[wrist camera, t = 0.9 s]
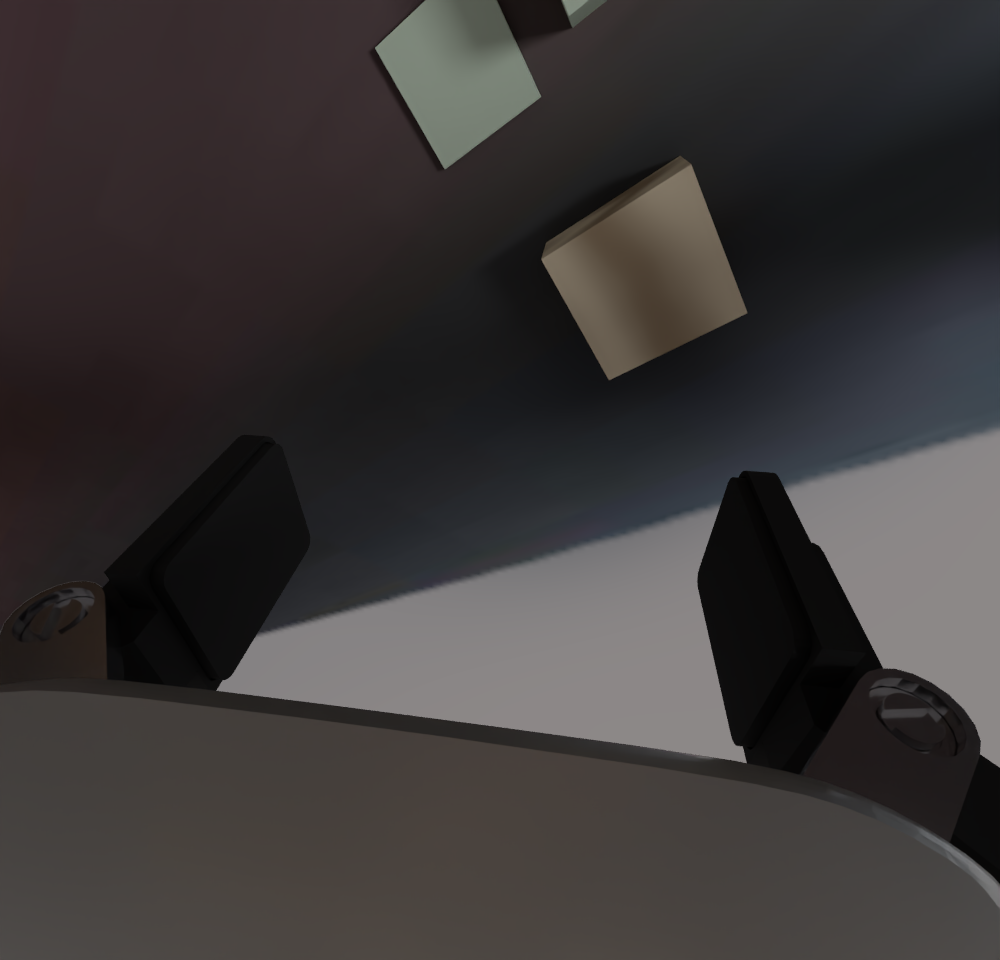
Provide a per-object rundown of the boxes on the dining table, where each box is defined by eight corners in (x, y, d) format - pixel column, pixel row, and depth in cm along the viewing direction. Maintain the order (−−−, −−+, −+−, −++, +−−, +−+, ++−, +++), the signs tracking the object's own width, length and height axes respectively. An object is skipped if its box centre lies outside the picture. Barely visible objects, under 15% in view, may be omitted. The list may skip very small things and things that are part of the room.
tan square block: (679, 155, 27) (691, 164, 23) (731, 289, 30) (747, 313, 27) (546, 241, 30) (541, 259, 27) (607, 352, 34) (609, 380, 30)
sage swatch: (476, -45, 23) (474, -47, 23) (541, 96, 26) (540, 97, 25) (377, 48, 25) (374, 48, 25) (446, 168, 28) (444, 169, 28)
